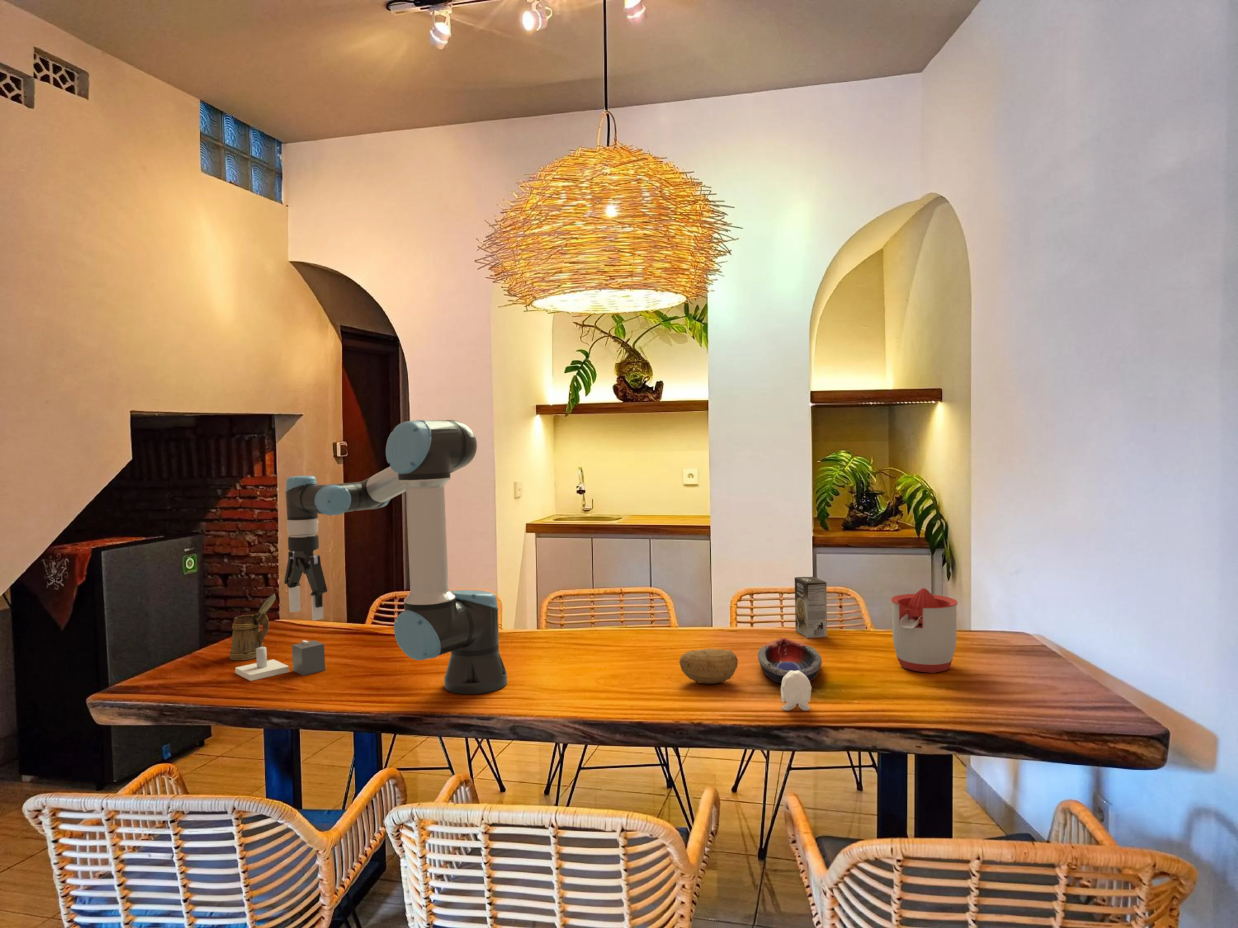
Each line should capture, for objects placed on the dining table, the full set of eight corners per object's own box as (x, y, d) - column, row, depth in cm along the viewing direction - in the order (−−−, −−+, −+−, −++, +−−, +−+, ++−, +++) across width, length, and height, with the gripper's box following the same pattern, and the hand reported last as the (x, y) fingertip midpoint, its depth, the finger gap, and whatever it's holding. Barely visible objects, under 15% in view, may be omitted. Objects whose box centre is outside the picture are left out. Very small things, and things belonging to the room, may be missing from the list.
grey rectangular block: (325, 670, 217) (324, 641, 217) (303, 675, 213) (301, 646, 213) (315, 665, 222) (313, 637, 221) (293, 670, 218) (291, 642, 217)
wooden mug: (269, 660, 228) (266, 596, 227) (222, 660, 229) (219, 596, 228) (285, 651, 237) (282, 589, 236) (240, 651, 238) (237, 589, 237)
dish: (758, 689, 194) (757, 668, 193) (758, 653, 224) (757, 635, 224) (826, 691, 191) (825, 670, 191) (816, 654, 221) (816, 636, 221)
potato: (680, 676, 205) (679, 644, 204) (737, 676, 203) (737, 644, 203) (678, 688, 195) (677, 655, 195) (738, 689, 193) (737, 656, 193)
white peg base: (289, 671, 217) (288, 647, 216) (250, 680, 210) (249, 655, 209) (273, 664, 224) (272, 640, 224) (235, 673, 217) (234, 648, 217)
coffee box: (794, 630, 246) (793, 577, 245) (814, 629, 247) (814, 575, 246) (806, 638, 237) (806, 582, 236) (827, 636, 238) (827, 581, 237)
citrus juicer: (876, 669, 206) (876, 590, 205) (908, 654, 218) (908, 579, 217) (938, 682, 195) (937, 598, 194) (968, 665, 207) (967, 586, 206)
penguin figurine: (782, 673, 176) (775, 662, 188) (783, 714, 176) (776, 700, 188) (812, 673, 176) (803, 662, 188) (813, 714, 175) (804, 700, 187)
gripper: (339, 537, 210) (342, 620, 211) (296, 529, 227) (299, 605, 228) (310, 541, 204) (313, 625, 205) (269, 532, 222) (272, 610, 223)
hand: (306, 615), depth 217 cm, fingers open, 13 cm apart
